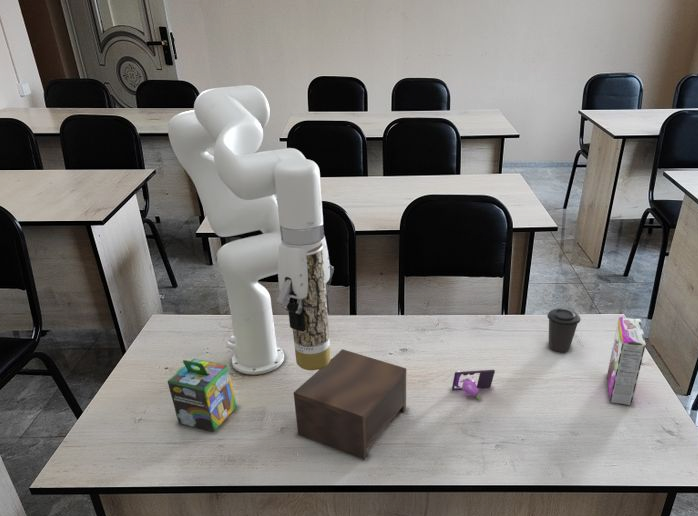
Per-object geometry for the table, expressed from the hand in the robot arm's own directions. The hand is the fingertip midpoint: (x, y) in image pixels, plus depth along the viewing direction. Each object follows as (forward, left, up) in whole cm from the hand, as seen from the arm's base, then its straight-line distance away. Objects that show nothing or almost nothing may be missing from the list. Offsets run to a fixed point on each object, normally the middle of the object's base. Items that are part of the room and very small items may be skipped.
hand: (310, 319), depth 115 cm
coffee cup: (+37, +54, -26) cm, 71 cm away
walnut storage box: (+6, +4, -26) cm, 27 cm away
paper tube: (0, 0, -10) cm, 10 cm away
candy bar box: (+54, +42, -26) cm, 73 cm away
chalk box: (-23, -9, -26) cm, 36 cm away
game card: (+25, +25, -26) cm, 44 cm away
